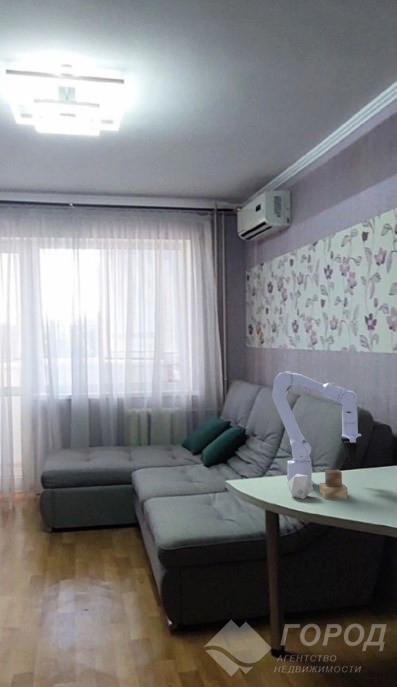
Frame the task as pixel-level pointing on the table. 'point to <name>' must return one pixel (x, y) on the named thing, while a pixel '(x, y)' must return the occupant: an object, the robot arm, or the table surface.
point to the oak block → (333, 491)
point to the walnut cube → (333, 478)
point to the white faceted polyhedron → (300, 486)
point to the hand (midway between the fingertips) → (350, 458)
